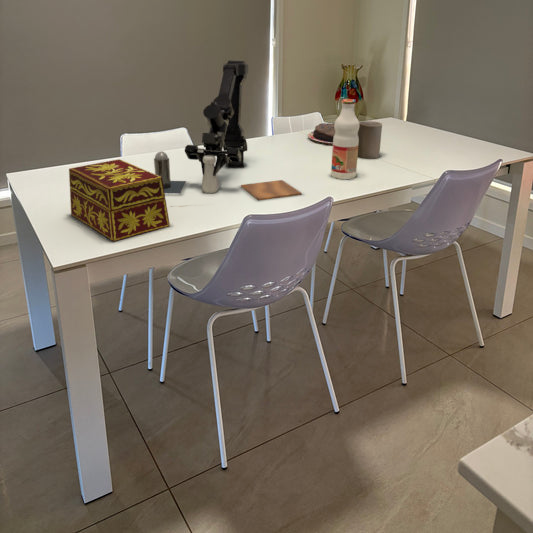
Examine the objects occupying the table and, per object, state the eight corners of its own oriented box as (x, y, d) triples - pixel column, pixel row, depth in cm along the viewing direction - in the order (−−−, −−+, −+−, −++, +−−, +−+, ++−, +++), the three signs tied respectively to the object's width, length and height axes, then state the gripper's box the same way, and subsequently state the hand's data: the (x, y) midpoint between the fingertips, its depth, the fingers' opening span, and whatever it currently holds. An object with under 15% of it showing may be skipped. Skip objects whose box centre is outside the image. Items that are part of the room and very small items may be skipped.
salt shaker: (202, 190, 205) (200, 153, 199) (218, 190, 205) (217, 153, 200) (201, 195, 200) (200, 158, 194) (218, 195, 200) (217, 157, 194)
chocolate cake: (371, 146, 263) (373, 132, 260) (309, 146, 263) (310, 131, 260) (363, 132, 288) (364, 119, 285) (306, 131, 288) (306, 118, 285)
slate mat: (186, 182, 213) (186, 181, 212) (180, 195, 200) (180, 193, 200) (147, 181, 213) (147, 180, 213) (139, 194, 200) (139, 192, 200)
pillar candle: (353, 157, 246) (356, 121, 240) (359, 152, 254) (362, 116, 248) (376, 160, 243) (380, 123, 236) (381, 154, 251) (385, 118, 244)
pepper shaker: (170, 184, 209) (168, 149, 204) (170, 188, 204) (168, 153, 199) (156, 184, 208) (153, 150, 203) (155, 189, 204) (153, 154, 198)
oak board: (281, 181, 215) (281, 180, 215) (301, 194, 202) (301, 192, 201) (241, 186, 209) (240, 185, 209) (258, 200, 196) (258, 198, 196)
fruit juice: (357, 179, 218) (363, 102, 206) (332, 179, 218) (336, 102, 206) (354, 172, 226) (360, 97, 214) (329, 172, 226) (334, 97, 214)
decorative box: (70, 214, 182) (63, 167, 175) (124, 202, 193) (120, 157, 186) (113, 241, 163) (107, 190, 157) (170, 226, 174) (167, 177, 168)
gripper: (184, 120, 198) (175, 161, 193) (238, 123, 194) (230, 165, 189) (193, 138, 208) (184, 178, 203) (244, 141, 205) (237, 181, 200)
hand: (208, 175), depth 198 cm, fingers closed on salt shaker, 3 cm apart
